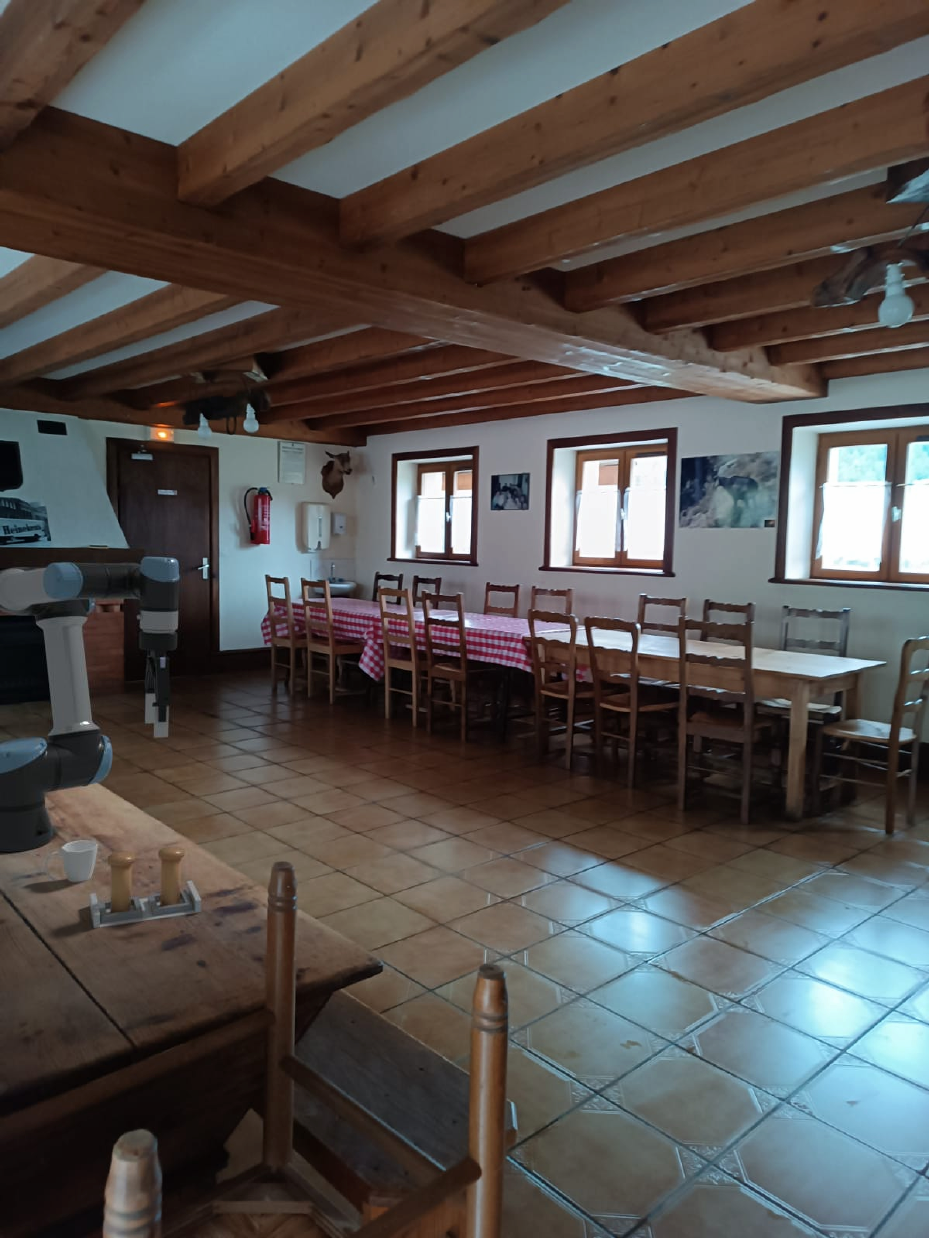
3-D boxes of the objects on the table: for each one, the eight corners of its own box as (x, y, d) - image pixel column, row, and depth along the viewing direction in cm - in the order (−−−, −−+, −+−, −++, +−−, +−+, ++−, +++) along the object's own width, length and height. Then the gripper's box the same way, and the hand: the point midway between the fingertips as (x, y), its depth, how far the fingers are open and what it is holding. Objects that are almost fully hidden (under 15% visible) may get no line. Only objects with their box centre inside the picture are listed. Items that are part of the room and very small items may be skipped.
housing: (89, 911, 164) (90, 893, 164) (191, 897, 173) (191, 880, 173) (93, 934, 156) (94, 915, 155) (200, 917, 164) (201, 899, 164)
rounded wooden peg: (105, 909, 163) (106, 853, 162) (132, 905, 166) (133, 850, 165) (107, 919, 159) (109, 862, 158) (135, 915, 161) (136, 859, 160)
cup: (97, 888, 175) (98, 850, 175) (43, 893, 171) (43, 854, 171) (97, 875, 182) (98, 838, 181) (45, 880, 178) (45, 842, 177)
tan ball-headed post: (180, 899, 170) (182, 845, 169) (184, 908, 165) (186, 853, 165) (155, 902, 167) (156, 847, 167) (158, 912, 163) (160, 856, 162)
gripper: (132, 623, 188) (130, 718, 190) (147, 638, 166) (145, 744, 168) (168, 624, 192) (165, 716, 194) (187, 638, 170) (184, 742, 172)
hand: (156, 729), depth 181 cm, fingers open, 13 cm apart
